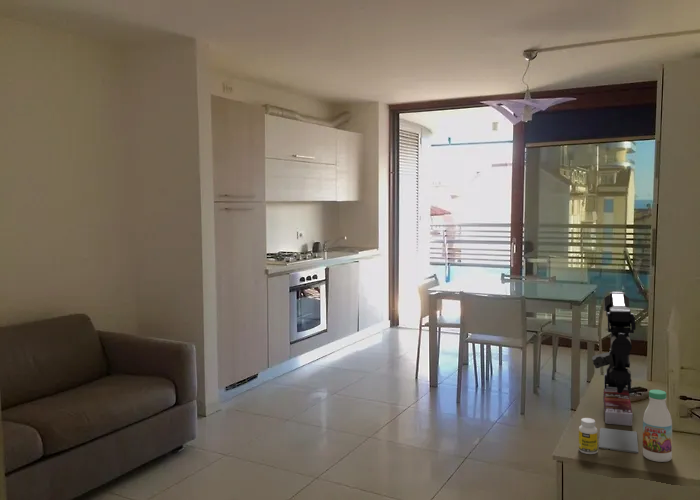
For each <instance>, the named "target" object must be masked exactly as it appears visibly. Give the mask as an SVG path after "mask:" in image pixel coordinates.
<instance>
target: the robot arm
mask: <svg viewBox="0 0 700 500" xmlns="http://www.w3.org/2000/svg"><path fill="white" fill-rule="evenodd" d="M603 298H604V299H603V310H604V312H605V316H606V319H607V320H606V321H607V333H610V348H609V352H608V351H607V352H603V353H598V354H595V355H592V357H591V360H592V363H593V365H594V368H595V369H599V368H601V367H606V366H607V367H606V369H605V371H606V372H605V373H604V374H603V375H604V378H603V379H604V380H603V390H604V389H615V390H618V393H622V391H623V390H628V391H629V392H631V391H632V378H631V377H632V373H631V372H632V371H631V370H630V367H631V360H630V356H631V351H632V350H633V349H632V346H633V345H632V341H631V338H630V335H631V334H634V332H635V331H636V330H637V329H636V317H635V315H634V313H632V312H631V308H630V298H629V297H628V296H626V292H624V291H610V292H609V294H608V295H607V296H605V297H603Z"/></svg>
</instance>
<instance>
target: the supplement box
mask: <svg viewBox="0 0 700 500" xmlns="http://www.w3.org/2000/svg"><path fill="white" fill-rule="evenodd" d="M602 399H603V401H602V402H603V411H604V413H603V414H604V423H605V424H607V425H608V424H609V425H618V426H619V425H620V426H630V427H632V426H633V415H634V414H633V408H632V403H631V402H632V401H631V396H630V391H628V390H623V391H622V393H618V390H615V389H604V388H603V396H602Z"/></svg>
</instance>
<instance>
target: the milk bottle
mask: <svg viewBox="0 0 700 500" xmlns="http://www.w3.org/2000/svg"><path fill="white" fill-rule="evenodd" d="M648 396H649V397H648V399H649V401H648V405H647V407H646V409H645V411H644V413H643V419H642V455H643V457H644V458H645V459H647V460H650V461H652V462H657V463H658V462H659V463H667V462H669V461H671V460H672V458H673V420H672V415H671V413H670V411H669V409H668V406H667V403H666V401H667V392H666V391H664V390H661V389H650V390H649V392H648Z"/></svg>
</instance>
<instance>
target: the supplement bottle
mask: <svg viewBox="0 0 700 500" xmlns="http://www.w3.org/2000/svg"><path fill="white" fill-rule="evenodd" d="M580 422H581V423H580V424H581V425H579V427H578V450H579V451H580V452H581V453H582V454H586V455H595V454H597V453H598V446H599V441H598V440H599V439H598V438H599V437H598V435H599V434H598V428H597V427H596V420H595V419H594V418H591V417H582V418H581V419H580Z"/></svg>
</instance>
